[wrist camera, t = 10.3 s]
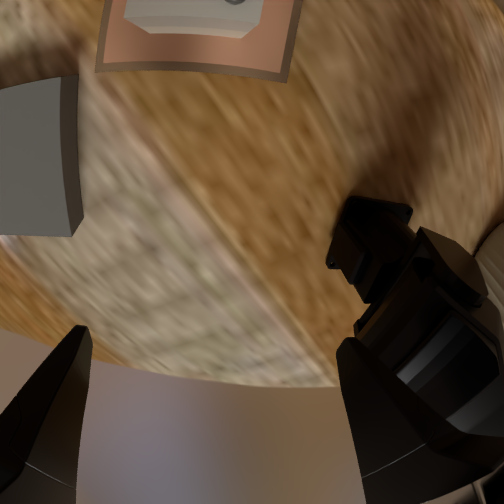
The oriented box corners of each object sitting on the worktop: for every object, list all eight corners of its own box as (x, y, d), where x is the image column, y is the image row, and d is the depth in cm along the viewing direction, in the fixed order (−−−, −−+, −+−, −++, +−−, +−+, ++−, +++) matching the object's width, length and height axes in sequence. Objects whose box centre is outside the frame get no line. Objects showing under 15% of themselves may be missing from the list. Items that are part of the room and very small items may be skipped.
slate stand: (78, 74, 12) (60, 76, 10) (83, 217, 18) (71, 237, 16) (-29, 98, 10) (-50, 106, 8) (-13, 217, 16) (-29, 233, 14)
